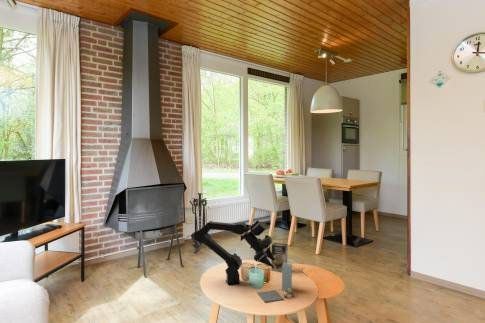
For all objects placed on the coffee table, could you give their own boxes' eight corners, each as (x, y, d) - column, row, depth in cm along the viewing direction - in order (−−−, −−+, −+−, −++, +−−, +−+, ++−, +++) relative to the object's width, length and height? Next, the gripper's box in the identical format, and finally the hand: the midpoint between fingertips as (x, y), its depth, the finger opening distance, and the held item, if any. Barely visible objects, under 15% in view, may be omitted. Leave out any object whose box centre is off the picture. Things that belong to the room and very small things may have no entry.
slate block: (282, 290, 160) (282, 265, 160) (283, 286, 165) (283, 262, 164) (290, 291, 159) (290, 266, 159) (291, 287, 163) (291, 263, 163)
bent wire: (284, 298, 151) (284, 293, 151) (280, 293, 156) (280, 288, 156) (295, 297, 152) (295, 291, 152) (290, 292, 157) (290, 287, 157)
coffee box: (270, 270, 187) (271, 244, 187) (273, 267, 193) (273, 242, 193) (285, 272, 184) (285, 246, 184) (287, 269, 190) (287, 243, 190)
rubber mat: (264, 302, 146) (264, 301, 146) (257, 293, 156) (257, 292, 156) (283, 299, 149) (283, 298, 149) (275, 291, 159) (275, 290, 159)
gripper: (259, 236, 156) (281, 259, 153) (266, 227, 174) (285, 248, 171) (245, 249, 158) (265, 273, 155) (253, 240, 176) (272, 260, 173)
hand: (273, 263), depth 164 cm, fingers open, 9 cm apart
